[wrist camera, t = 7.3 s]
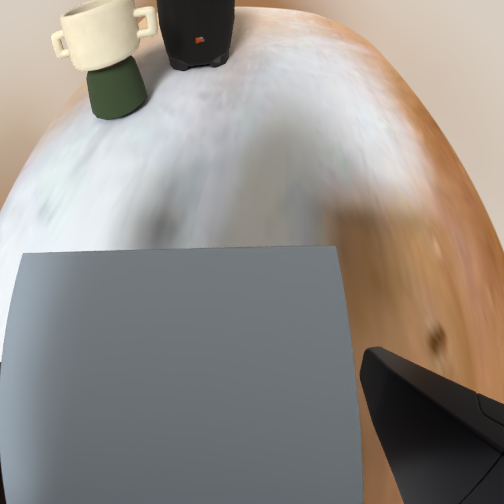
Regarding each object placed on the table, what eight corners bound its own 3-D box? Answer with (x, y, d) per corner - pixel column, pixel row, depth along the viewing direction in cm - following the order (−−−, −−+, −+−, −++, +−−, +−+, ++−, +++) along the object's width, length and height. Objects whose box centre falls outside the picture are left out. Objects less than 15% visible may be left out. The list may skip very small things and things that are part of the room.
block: (273, 460, 12) (359, 580, 2) (171, 460, 12) (15, 541, 2) (268, 366, 15) (335, 245, 4) (170, 366, 15) (22, 253, 4)
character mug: (172, 84, 31) (159, -17, 19) (165, 118, 27) (145, -4, 16) (87, 99, 30) (60, 9, 18) (69, 135, 26) (29, 33, 15)
